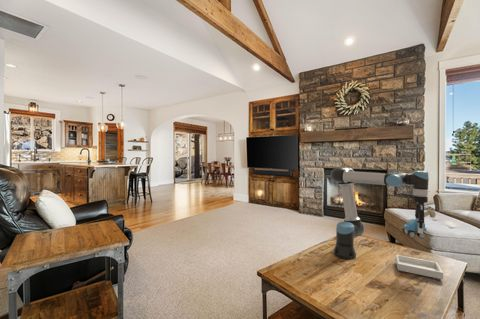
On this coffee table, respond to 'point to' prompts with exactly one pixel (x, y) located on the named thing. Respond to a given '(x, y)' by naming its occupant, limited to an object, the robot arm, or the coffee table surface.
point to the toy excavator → (416, 226)
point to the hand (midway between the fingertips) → (418, 230)
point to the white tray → (419, 267)
